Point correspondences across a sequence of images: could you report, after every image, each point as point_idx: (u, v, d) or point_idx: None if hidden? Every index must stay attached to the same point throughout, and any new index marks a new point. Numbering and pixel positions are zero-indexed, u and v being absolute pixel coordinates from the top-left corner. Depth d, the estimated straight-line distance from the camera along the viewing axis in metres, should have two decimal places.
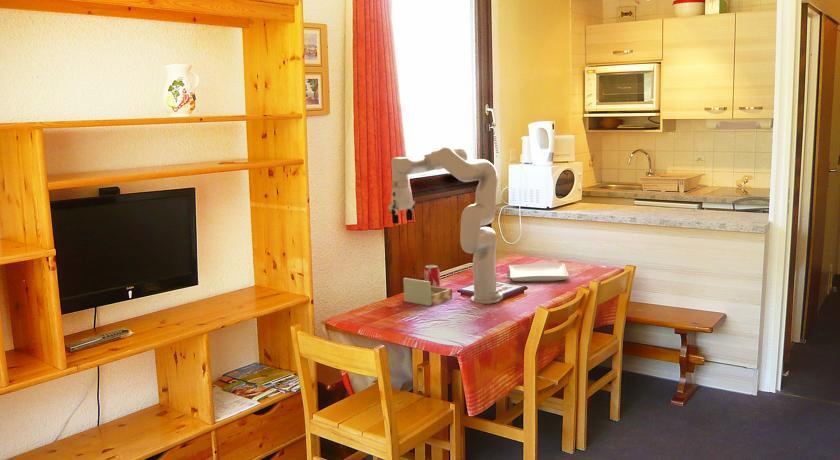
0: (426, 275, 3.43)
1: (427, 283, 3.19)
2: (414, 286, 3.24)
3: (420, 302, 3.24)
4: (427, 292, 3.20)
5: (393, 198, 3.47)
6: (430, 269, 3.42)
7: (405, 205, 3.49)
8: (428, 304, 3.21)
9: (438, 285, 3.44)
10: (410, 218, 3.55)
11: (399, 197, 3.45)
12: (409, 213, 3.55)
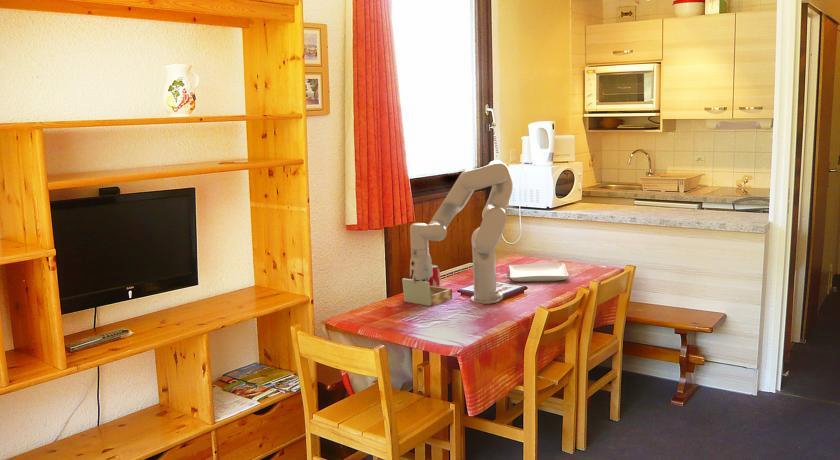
0: None
1: (426, 284, 3.19)
2: (413, 286, 3.24)
3: (420, 302, 3.24)
4: (426, 292, 3.20)
5: (412, 267, 3.22)
6: None
7: (424, 275, 3.24)
8: (428, 304, 3.21)
9: (438, 285, 3.44)
10: None
11: (418, 266, 3.20)
12: None
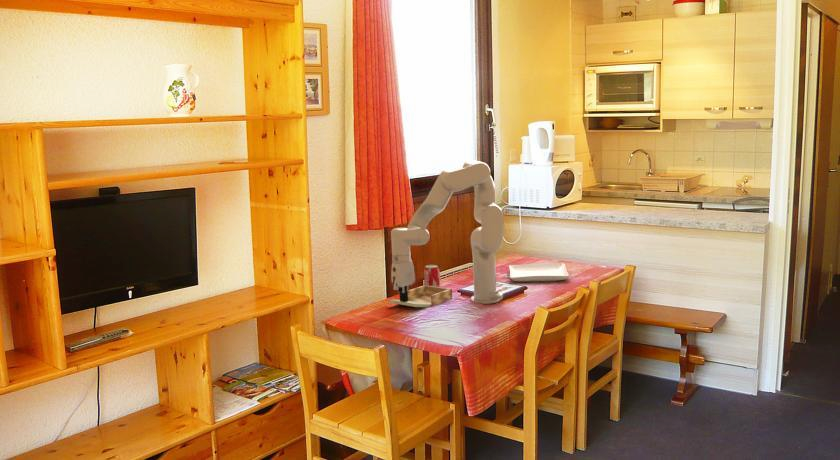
0: (426, 275, 3.43)
1: (414, 306, 3.14)
2: None
3: None
4: (420, 306, 3.17)
5: (393, 274, 3.13)
6: (430, 269, 3.42)
7: (406, 281, 3.15)
8: None
9: (438, 285, 3.44)
10: None
11: (399, 273, 3.11)
12: None
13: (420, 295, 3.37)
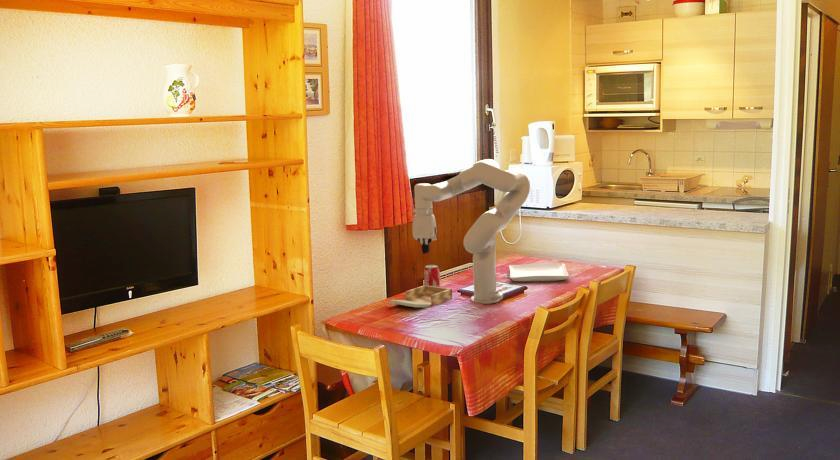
0: (426, 275, 3.43)
1: None
2: None
3: None
4: None
5: None
6: (430, 269, 3.42)
7: (420, 234, 3.35)
8: None
9: (438, 285, 3.44)
10: None
11: (413, 224, 3.37)
12: None
13: (420, 295, 3.37)
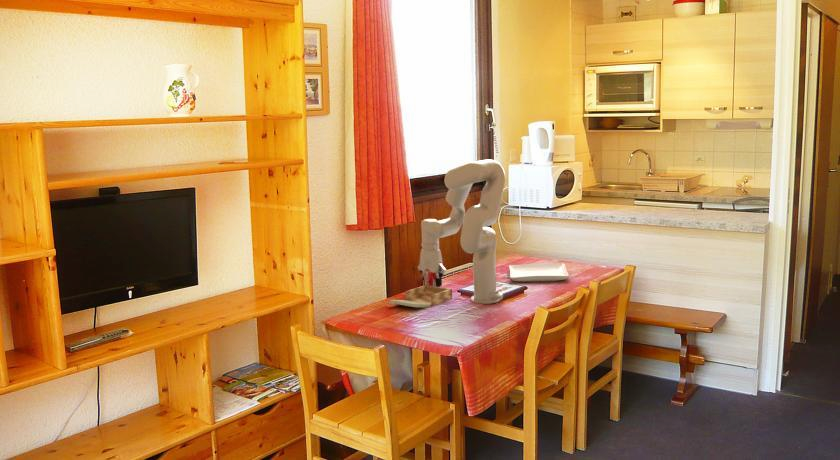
0: (426, 275, 3.43)
1: None
2: None
3: None
4: None
5: None
6: None
7: (426, 268, 3.44)
8: None
9: None
10: None
11: (420, 258, 3.45)
12: None
13: (420, 295, 3.37)
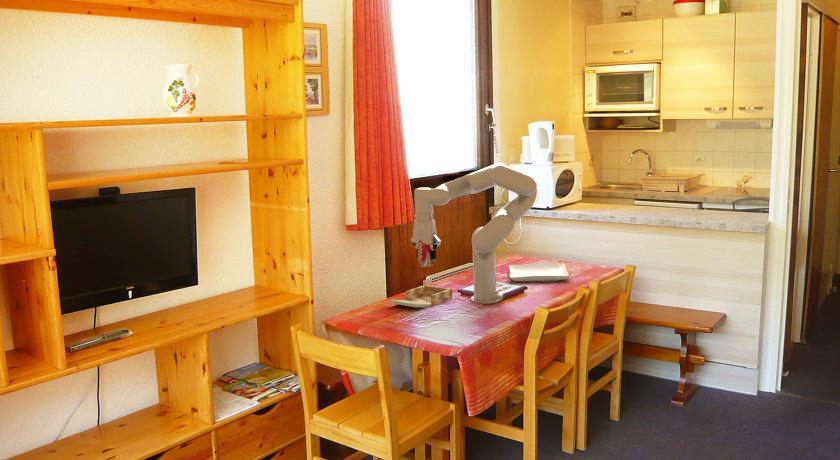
0: (419, 247, 3.25)
1: None
2: None
3: None
4: None
5: None
6: None
7: None
8: None
9: None
10: None
11: (413, 229, 3.27)
12: None
13: (420, 295, 3.37)
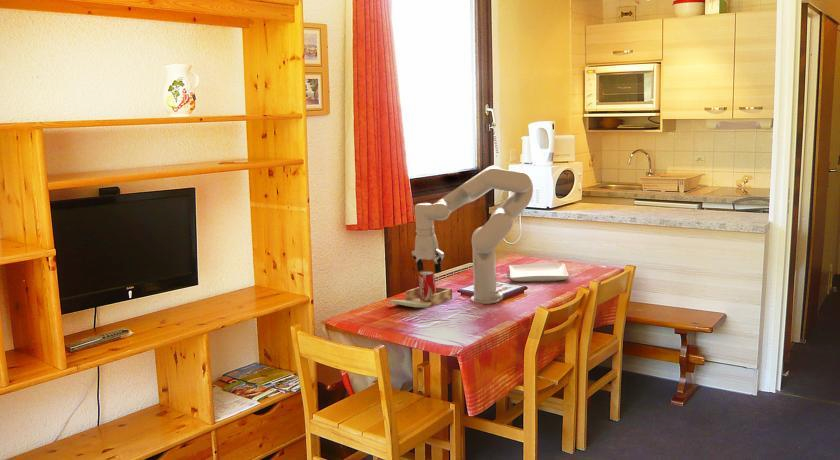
0: (421, 282, 3.27)
1: None
2: None
3: None
4: None
5: None
6: (425, 276, 3.26)
7: (422, 255, 3.26)
8: None
9: (433, 292, 3.28)
10: None
11: (415, 244, 3.28)
12: None
13: None
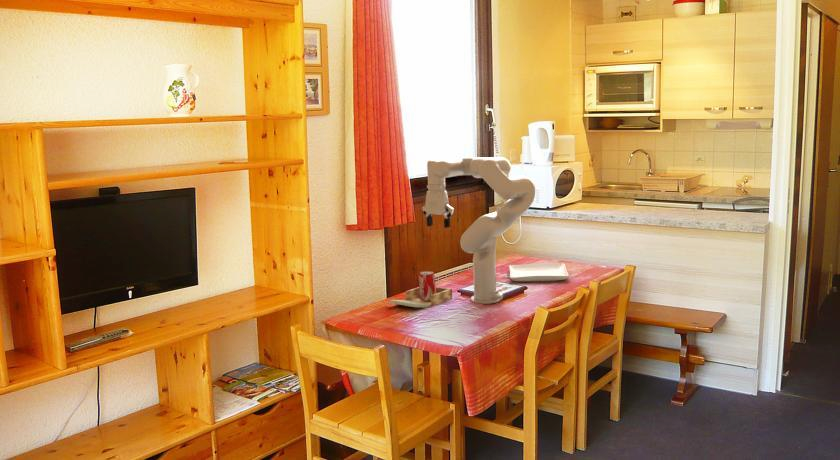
0: (421, 282, 3.27)
1: None
2: None
3: None
4: None
5: None
6: (425, 276, 3.26)
7: (432, 210, 3.36)
8: None
9: (433, 292, 3.28)
10: None
11: (426, 199, 3.38)
12: None
13: None
